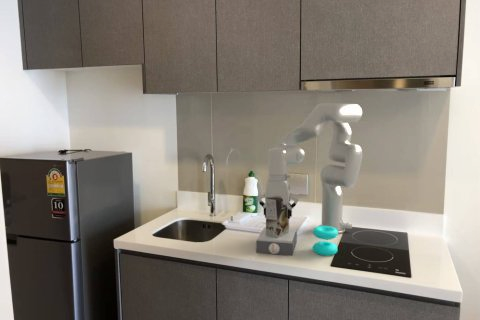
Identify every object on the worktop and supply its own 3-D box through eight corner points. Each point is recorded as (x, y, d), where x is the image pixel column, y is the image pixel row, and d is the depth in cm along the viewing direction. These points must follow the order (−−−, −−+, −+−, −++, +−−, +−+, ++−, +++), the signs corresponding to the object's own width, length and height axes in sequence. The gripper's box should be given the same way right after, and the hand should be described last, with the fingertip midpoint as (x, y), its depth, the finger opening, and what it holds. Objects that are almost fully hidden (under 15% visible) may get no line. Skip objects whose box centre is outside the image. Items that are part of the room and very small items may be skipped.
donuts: (321, 223, 169) (342, 228, 162) (320, 245, 170) (341, 251, 164) (308, 229, 162) (330, 234, 155) (308, 252, 163) (329, 258, 156)
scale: (296, 242, 174) (296, 229, 173) (292, 256, 159) (292, 242, 158) (263, 239, 178) (263, 227, 177) (255, 253, 163) (255, 239, 162)
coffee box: (278, 238, 162) (278, 200, 160) (265, 235, 166) (265, 197, 164) (289, 232, 170) (290, 195, 167) (276, 229, 173) (277, 193, 171)
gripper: (299, 176, 165) (299, 215, 168) (258, 175, 170) (259, 213, 172) (297, 180, 158) (297, 221, 161) (255, 178, 162) (255, 218, 165)
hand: (277, 217), depth 167 cm, fingers open, 9 cm apart
